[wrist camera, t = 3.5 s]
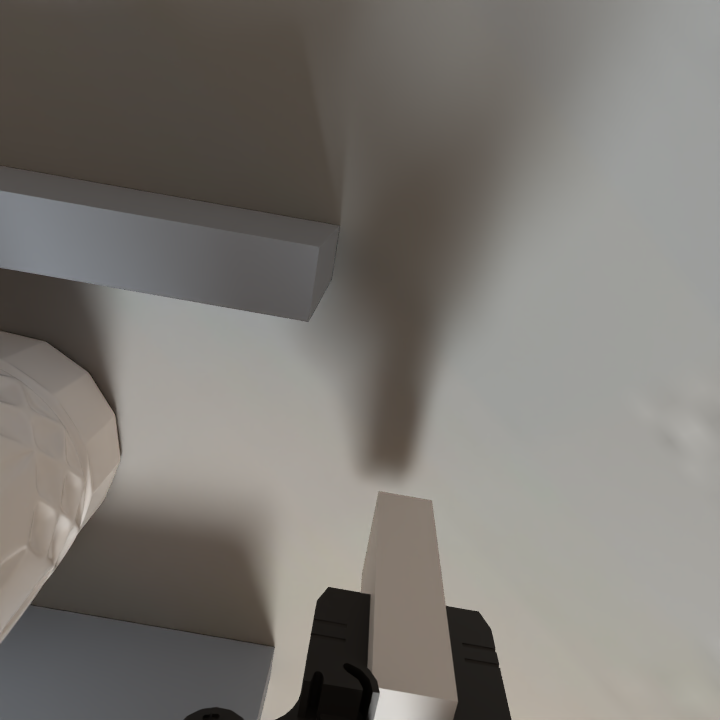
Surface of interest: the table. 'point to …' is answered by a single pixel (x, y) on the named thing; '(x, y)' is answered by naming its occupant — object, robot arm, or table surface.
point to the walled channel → (175, 280)
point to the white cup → (46, 464)
